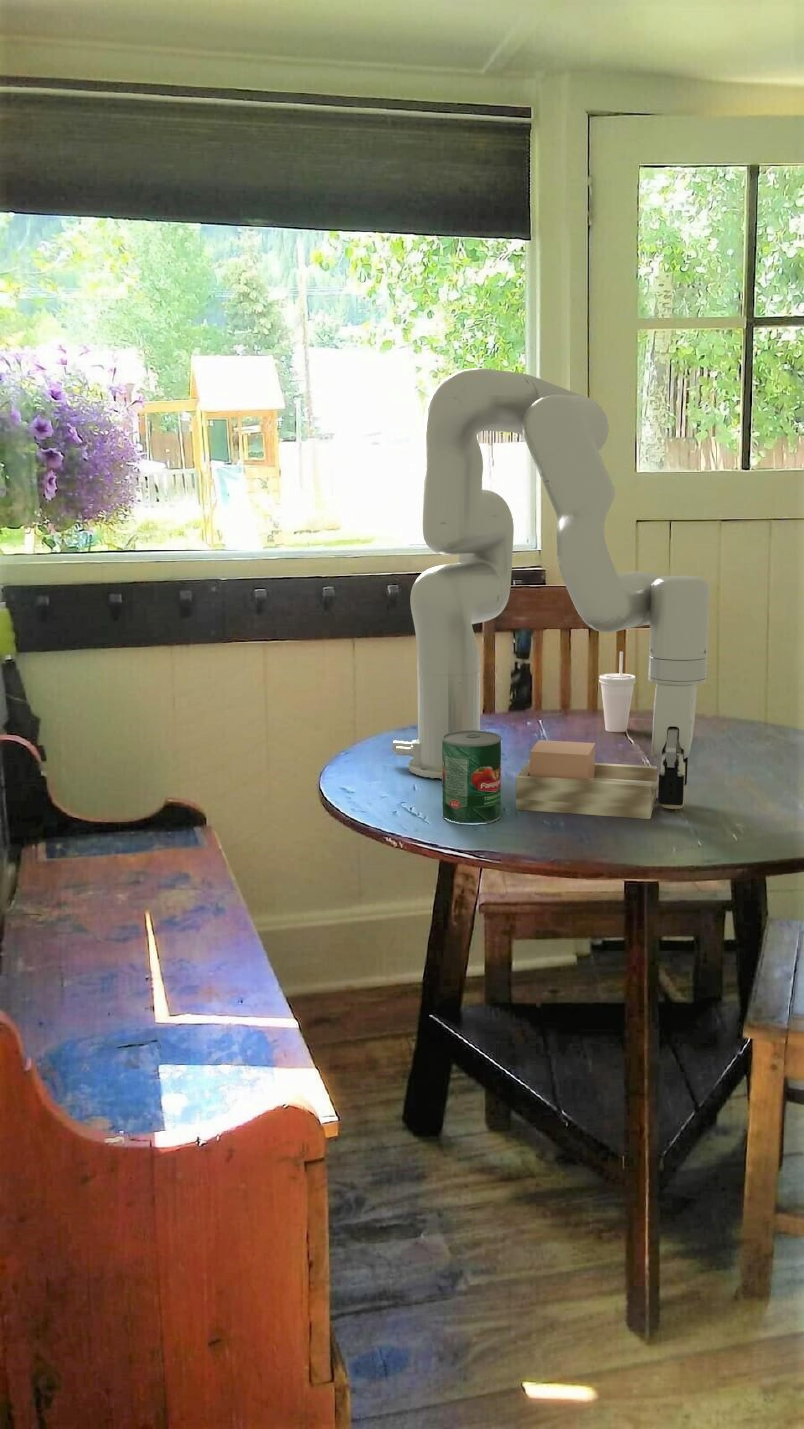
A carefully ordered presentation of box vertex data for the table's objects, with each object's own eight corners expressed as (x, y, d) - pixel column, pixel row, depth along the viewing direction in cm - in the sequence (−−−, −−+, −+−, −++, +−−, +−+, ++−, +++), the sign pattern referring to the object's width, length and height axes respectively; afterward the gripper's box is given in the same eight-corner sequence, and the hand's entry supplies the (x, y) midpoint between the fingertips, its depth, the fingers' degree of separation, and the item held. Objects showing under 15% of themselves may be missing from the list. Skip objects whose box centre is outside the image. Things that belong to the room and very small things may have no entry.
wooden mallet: (529, 803, 158) (529, 751, 156) (537, 789, 165) (538, 740, 163) (682, 813, 152) (684, 760, 151) (684, 799, 159) (686, 748, 157)
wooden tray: (515, 809, 157) (516, 777, 156) (529, 788, 167) (530, 758, 166) (650, 819, 152) (651, 786, 151) (656, 797, 162) (657, 766, 161)
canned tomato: (498, 826, 149) (498, 744, 147) (438, 824, 151) (437, 742, 148) (503, 809, 157) (503, 731, 155) (446, 807, 158) (445, 729, 156)
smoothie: (637, 733, 200) (640, 654, 197) (600, 734, 201) (602, 654, 198) (630, 725, 207) (633, 648, 204) (595, 726, 207) (597, 649, 204)
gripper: (653, 658, 161) (649, 776, 165) (643, 680, 145) (638, 810, 149) (708, 660, 159) (703, 779, 163) (704, 682, 143) (698, 814, 146)
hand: (672, 794), depth 156 cm, fingers open, 9 cm apart
